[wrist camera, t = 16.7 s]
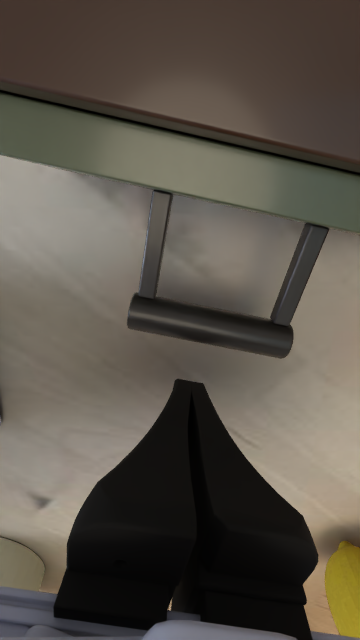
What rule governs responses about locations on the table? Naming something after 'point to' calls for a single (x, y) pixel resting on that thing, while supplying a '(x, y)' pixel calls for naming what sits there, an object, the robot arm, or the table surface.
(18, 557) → the reusable coffee cup
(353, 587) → the lemon
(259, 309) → the table surface
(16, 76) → the cabinet
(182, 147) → the drawer
